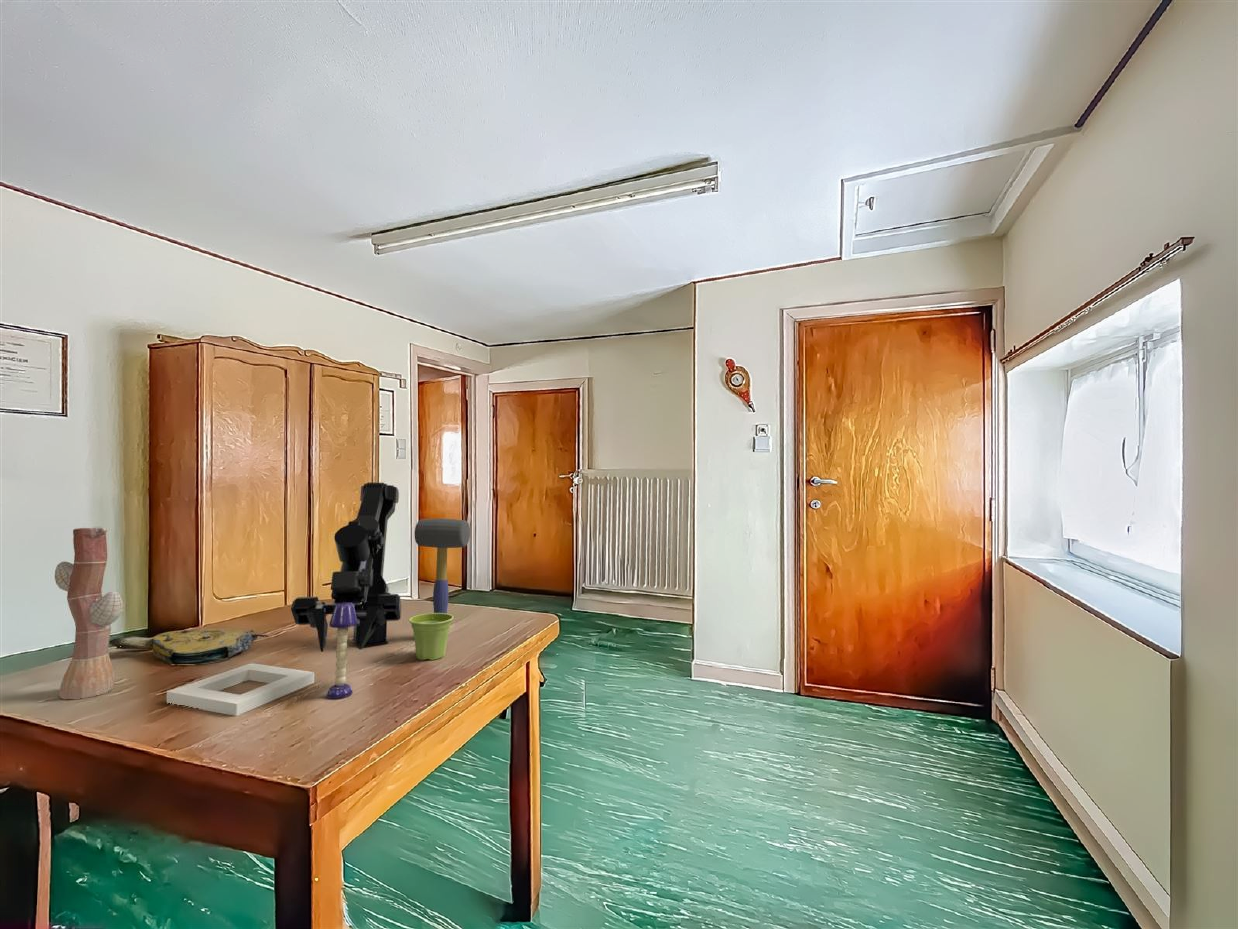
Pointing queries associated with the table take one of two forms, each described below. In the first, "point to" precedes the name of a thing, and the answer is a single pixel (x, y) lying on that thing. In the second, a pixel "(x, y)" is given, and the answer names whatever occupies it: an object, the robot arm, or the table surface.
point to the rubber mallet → (442, 550)
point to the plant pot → (431, 634)
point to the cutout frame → (211, 699)
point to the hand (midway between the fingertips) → (341, 649)
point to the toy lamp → (342, 647)
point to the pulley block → (192, 645)
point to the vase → (88, 615)
